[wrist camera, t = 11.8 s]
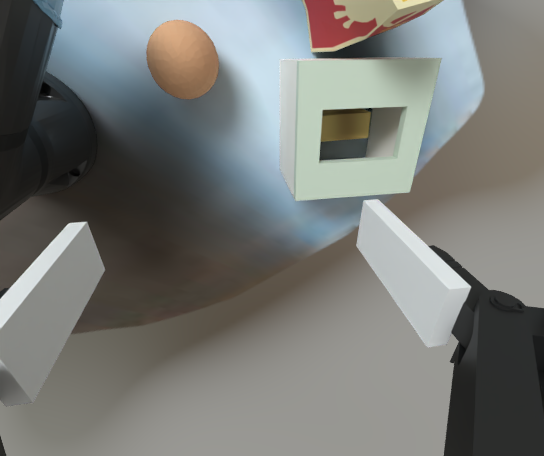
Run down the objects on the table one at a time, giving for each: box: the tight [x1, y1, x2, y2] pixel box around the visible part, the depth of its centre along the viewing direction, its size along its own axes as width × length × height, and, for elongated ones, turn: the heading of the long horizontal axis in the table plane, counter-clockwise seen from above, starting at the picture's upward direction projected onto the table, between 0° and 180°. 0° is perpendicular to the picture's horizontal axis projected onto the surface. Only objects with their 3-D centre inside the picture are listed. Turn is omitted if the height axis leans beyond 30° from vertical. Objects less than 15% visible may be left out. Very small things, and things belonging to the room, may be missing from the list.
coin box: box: [280, 57, 442, 201], centre depth 36 cm, size 14×14×11 cm
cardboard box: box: [321, 108, 371, 142], centre depth 38 cm, size 6×3×6 cm, turn 93°
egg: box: [146, 20, 219, 99], centre depth 32 cm, size 7×7×8 cm
